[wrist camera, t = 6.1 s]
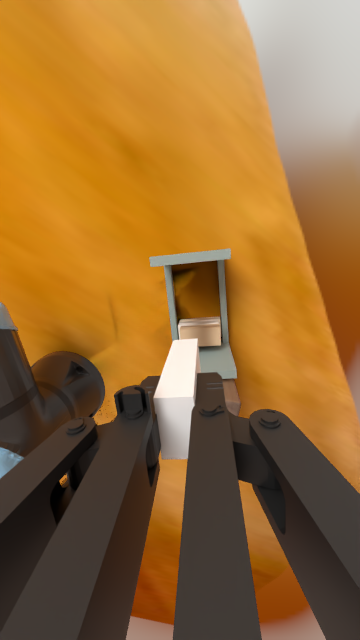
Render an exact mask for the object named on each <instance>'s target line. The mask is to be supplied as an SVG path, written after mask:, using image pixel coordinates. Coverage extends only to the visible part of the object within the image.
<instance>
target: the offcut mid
mask: <svg viewBox="0 0 360 640" xmlns="http://www.w3.org/2000/svg"><path fill="white" fill-rule="evenodd" d="M205 324H219V322H218V319H211V320H199V321H188V322H179V324H178V331H179V340H180V327H181V326H190V325H205Z"/></svg>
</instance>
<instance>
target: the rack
mask: <svg viewBox="0 0 360 640" xmlns="http://www.w3.org/2000/svg"><path fill="white" fill-rule="evenodd" d="M149 258H150V266H151V267H155V266H164V271H165V279H166V288H167V297H168V306H169V314H170V323H171V332H172V340H179V332H178V323H177V313H176V304H175V295H174V286H173V276H172V267H171V265H175V264H184V263H194V262H204V261H214V260H217V266H218V282H219V297H220V313H221V328H222V340H221V345H217V346H199V347H198V348H199V359H200V370H201V373H208V372H217V373H218V374H219V375H221V376H222V379H231V378H237V370H236V366H235V363H234V359H233V356H232V352H231V349H230V346H229V339H228V322H227V305H226V287H225V270H224V259H231V251H230V249H222V250H212V251H203V252H194V253H184V254H175V255H165V256H156V257H149Z"/></svg>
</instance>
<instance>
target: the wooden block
mask: <svg viewBox="0 0 360 640" xmlns="http://www.w3.org/2000/svg"><path fill="white" fill-rule="evenodd" d="M222 381H223V388H224V395H225V402H226V407H227V409H228V410H229V412H231V413H232V414H234V415H236V416H238V415H239V411H240V406H241V402H240V398H239V395H238V392H237V388H236V385H235V382H234V378H231V379H222Z"/></svg>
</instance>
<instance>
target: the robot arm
mask: <svg viewBox="0 0 360 640" xmlns="http://www.w3.org/2000/svg"><path fill="white" fill-rule="evenodd" d="M17 331H18V328H17V327H16V326H15V325H14V323H13V321H12V319H11V317H10V315H9V312H8V310H7V308H6V307H5V305H4V304H2V303H1V302H0V640H126V635H127V630H128V625H129V619H130V615H131V610H132V605H133V600H134V595H135V590H136V585H137V581H138V576H139V571H140V566H141V561H142V556H143V551H144V546H145V541H146V536H147V531H148V526H149V521H150V516H151V511H152V506H153V501H154V496H155V491H156V486H157V481H158V476H159V471H160V466H159V459H158V457H159V453H160V449H161V456H162V459H188V462H187V474H186V486H185V498H184V510H183V522H182V534H181V546H180V559H179V571H178V583H177V595H176V607H175V619H174V632H173V640H262V638H261V632H260V625H259V618H258V611H257V604H256V598H255V591H254V584H253V577H252V571H251V564H250V557H249V550H248V544H247V537H246V530H245V523H244V517H243V510H242V503H241V496H240V490H239V483H238V480H241V481H245V482H248V483H251V484H252V486H253V490H254V492H255V494H256V496H257V498H258V500H259V502H260V504H261V506H262V508H263V510H264V512H265V514H266V516H267V518H268V521H269V523H270V525H271V527H272V529H273V531H274V533H275V535H276V537H277V539H278V541H279V543H280V545H281V547H282V549H283V551H284V553H285V556H286V558H287V560H288V562H289V564H290V566H291V568H292V570H293V572H294V574H295V576H296V578H297V580H298V582H299V584H300V586H301V588H302V590H303V592H304V595H305V597H306V599H307V601H308V603H309V605H310V607H311V609H312V611H313V613H314V615H315V617H316V619H317V621H318V623H319V625H320V627H321V630H322V632H323V634H324V636H325V638H326V640H360V494H359V493H358V492H357V491H356V490H355V488H354V487H353V486H352V485H351V484H350V483H349V482H348V481H347V480H346V479H345V478H344V477H343V476H342V475H341V473H340V472H339V471H338V470H337V469H336V468H335V467H334V466H333V465H332V464H331V463H330V462H329V461H328V460H327V458H326V457H325V456H324V455H323V454H322V453H321V452H320V451H319V450H318V449H317V448H316V447H315V446H314V444H313V443H312V442H311V441H310V440H309V439H308V438H307V437H306V436H305V435H304V434H303V433H302V432H301V431H300V429H299V428H298V427H297V426H296V425H295V424H294V423H293V422H292V421H291V420H290V419H289V418H288V417H287V416H286V415H284V414H283V413H281V412H278V411H276V410H270V409H263V410H258V411H255V412H254V413H252V414H251V415H250V418H249V419H247V418H242V417H238V416H236V415H234V414H232V413H231V412H229V410H228V409H227V407H226V402H225V395H224V388H223V381H222V376H221V375H219V374H218V373H217V372H208V373H201V370H200V359H199V348H198V338H197V339H183V340H173V343H172V346H171V349H170V352H169V355H168V357H167V360H166V363H165V366H164V369H163V372H162V374H161V376H148V377H147V378H146V379H144V380H143V381H142V382H141V384H140V385H134V386H128V387H125V388H122V389H121V390H119V391H117V392H116V393H115V394H114V398H115V403H116V409H117V416H116V418H115V420H114V421H113V422H110V423H106V424H102V425H98V426H96V424H95V421H94V419H93V418H92V417H93V416H94V415H95V414H96V413H97V411H98V410H99V408H100V407H101V405H102V403H103V400H104V396H105V386H104V381H103V379H102V376H101V374H100V372H99V371H98V369H97V368H96V367H95V366H94V365H93V364H92V363H91V362H90V361H89V360H87V359H86V358H84V357H82V356H80V355H78V354H76V353H72V352H66V351H59V352H53V353H50V354H48V355H46V356H44V357H43V358H41V359H40V360H38V361H37V362H36V363H34V364H33V365H32V367H30V365H29V362H28V360H27V357H26V354H25V352H24V349H23V346H22V343H21V341H20V338H19V335H18V332H17ZM65 474H67V478H68V480H67V481H66V482H65V483H64V484H63V485H62V486H61V485H60V482H59V480H60V479H61V478H62V477H63V476H64V475H65Z"/></svg>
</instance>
